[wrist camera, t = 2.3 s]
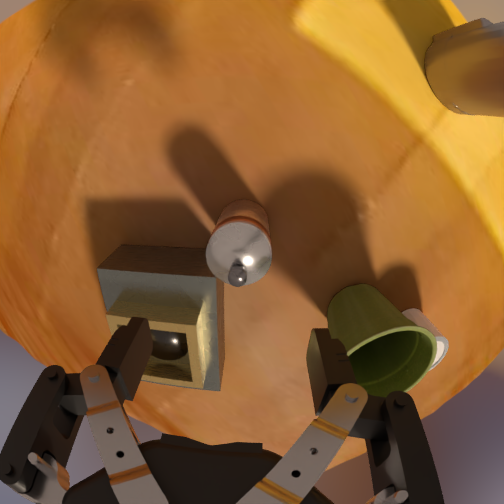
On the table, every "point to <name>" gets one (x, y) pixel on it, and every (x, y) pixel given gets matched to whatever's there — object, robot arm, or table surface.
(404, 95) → the table surface
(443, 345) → the white cylinder
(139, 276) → the grey block with socket
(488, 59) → the robot arm
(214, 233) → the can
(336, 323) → the plant pot
